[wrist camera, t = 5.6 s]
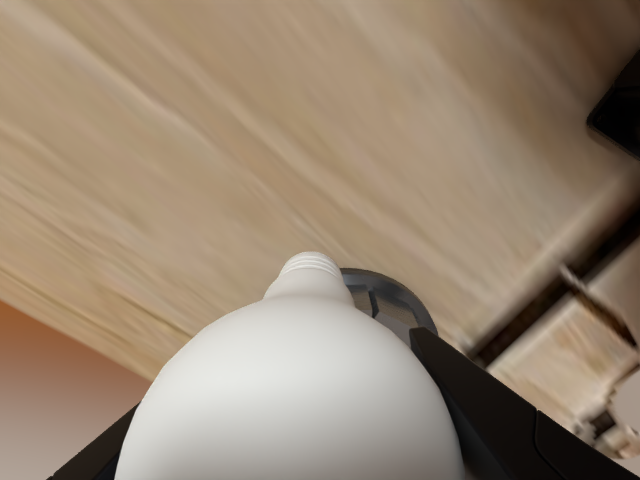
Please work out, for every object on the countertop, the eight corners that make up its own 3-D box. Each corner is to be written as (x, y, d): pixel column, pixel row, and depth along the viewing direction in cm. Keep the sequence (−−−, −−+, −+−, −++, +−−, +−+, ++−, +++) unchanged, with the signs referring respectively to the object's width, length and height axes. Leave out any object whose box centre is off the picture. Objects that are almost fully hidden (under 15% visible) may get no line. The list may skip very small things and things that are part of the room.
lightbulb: (299, 168, 12) (153, 463, 2) (414, 262, 13) (698, 733, 3) (212, 279, 14) (-106, 740, 4) (322, 352, 15) (314, 841, 5)
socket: (474, 320, 24) (502, 359, 20) (372, 438, 28) (379, 487, 24) (305, 233, 21) (300, 259, 18) (224, 376, 26) (207, 420, 22)
